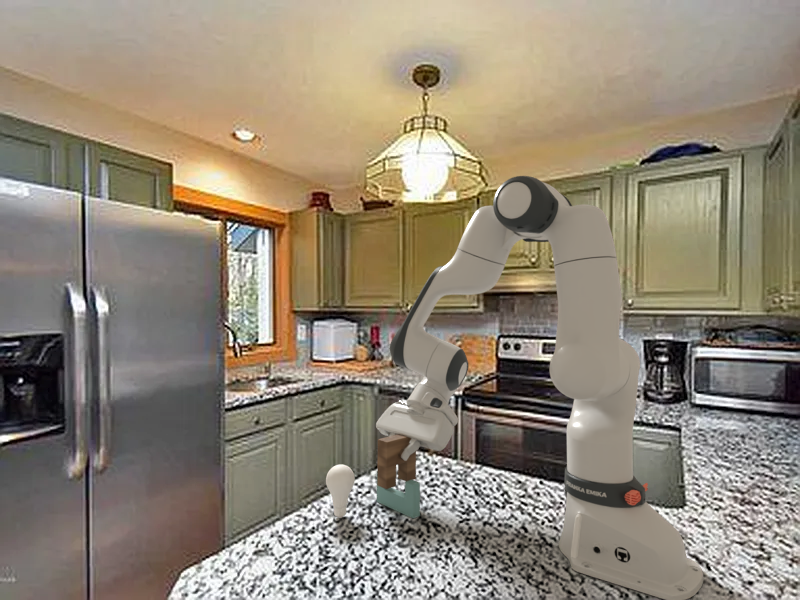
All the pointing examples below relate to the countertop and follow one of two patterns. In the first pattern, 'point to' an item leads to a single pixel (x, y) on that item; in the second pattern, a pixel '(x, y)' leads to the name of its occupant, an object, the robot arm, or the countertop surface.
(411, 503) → the teal bracket
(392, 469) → the brown arch block
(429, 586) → the countertop surface
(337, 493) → the lightbulb
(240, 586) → the countertop surface
